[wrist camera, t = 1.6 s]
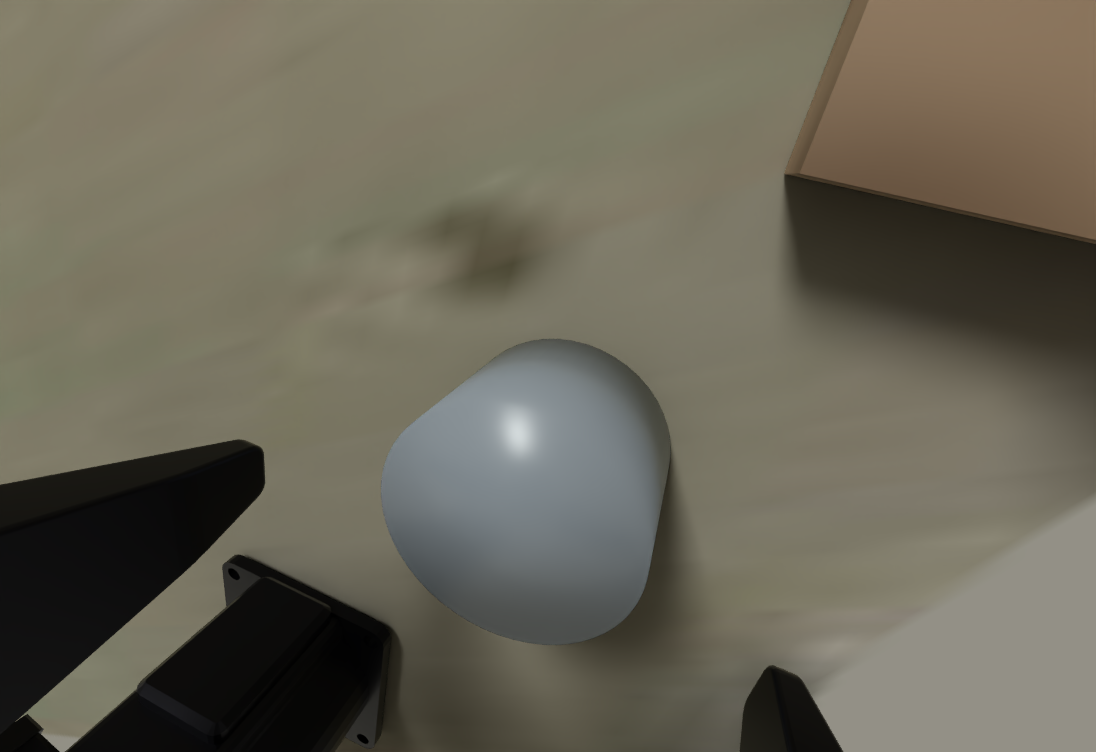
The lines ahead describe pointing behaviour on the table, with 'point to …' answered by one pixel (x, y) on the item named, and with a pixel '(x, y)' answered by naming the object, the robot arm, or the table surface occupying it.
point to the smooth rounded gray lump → (533, 493)
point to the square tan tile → (962, 110)
